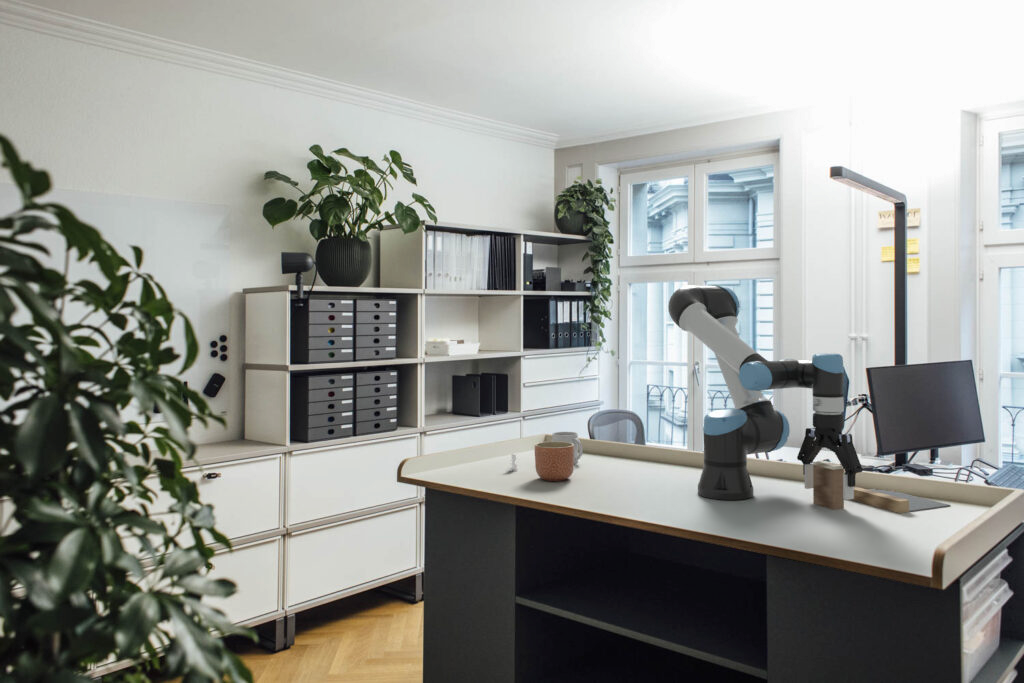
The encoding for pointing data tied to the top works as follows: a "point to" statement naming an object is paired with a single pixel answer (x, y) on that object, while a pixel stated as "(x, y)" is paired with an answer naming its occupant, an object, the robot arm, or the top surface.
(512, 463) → the figurine
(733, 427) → the robot arm
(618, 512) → the top surface
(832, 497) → the slab
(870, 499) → the rail
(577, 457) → the mug
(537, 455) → the planter
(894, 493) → the mat
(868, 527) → the top surface
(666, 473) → the top surface
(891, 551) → the top surface
